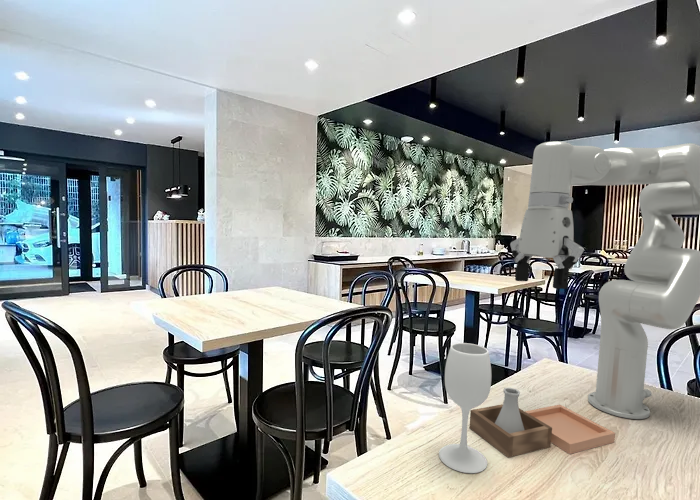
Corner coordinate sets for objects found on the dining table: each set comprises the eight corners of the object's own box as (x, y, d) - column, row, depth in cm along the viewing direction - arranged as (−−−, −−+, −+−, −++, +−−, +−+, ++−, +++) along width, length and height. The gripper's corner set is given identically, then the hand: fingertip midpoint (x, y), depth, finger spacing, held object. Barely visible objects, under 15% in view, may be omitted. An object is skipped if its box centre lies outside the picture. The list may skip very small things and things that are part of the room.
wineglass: (429, 450, 74) (435, 343, 72) (466, 442, 77) (472, 339, 76) (458, 478, 66) (465, 358, 64) (497, 468, 69) (505, 354, 68)
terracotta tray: (559, 412, 91) (559, 404, 91) (614, 442, 79) (615, 432, 79) (517, 421, 86) (518, 412, 86) (569, 454, 74) (570, 444, 74)
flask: (531, 450, 75) (535, 400, 74) (492, 444, 77) (496, 396, 76) (522, 430, 82) (526, 385, 82) (487, 426, 84) (490, 381, 83)
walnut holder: (508, 420, 87) (510, 402, 86) (550, 447, 76) (552, 427, 76) (469, 428, 82) (470, 410, 82) (507, 457, 72) (509, 437, 72)
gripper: (600, 203, 73) (590, 292, 74) (528, 206, 89) (520, 279, 90) (572, 199, 71) (562, 291, 71) (503, 203, 87) (496, 278, 88)
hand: (539, 284), depth 81 cm, fingers open, 9 cm apart
